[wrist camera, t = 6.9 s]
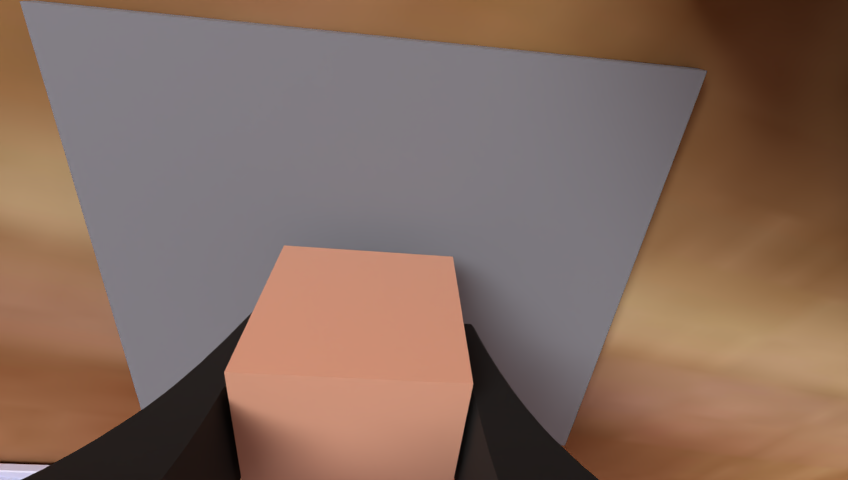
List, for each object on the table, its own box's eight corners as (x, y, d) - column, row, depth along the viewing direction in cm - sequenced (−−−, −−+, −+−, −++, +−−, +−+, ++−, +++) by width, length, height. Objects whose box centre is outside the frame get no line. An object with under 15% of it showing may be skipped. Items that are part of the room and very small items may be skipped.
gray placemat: (153, 419, 20) (147, 429, 19) (34, 0, 12) (19, 1, 11) (561, 435, 21) (564, 445, 20) (697, 67, 13) (706, 70, 13)
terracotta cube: (291, 369, 16) (247, 517, 12) (284, 245, 13) (224, 372, 9) (435, 376, 16) (444, 521, 12) (452, 256, 14) (473, 383, 9)
